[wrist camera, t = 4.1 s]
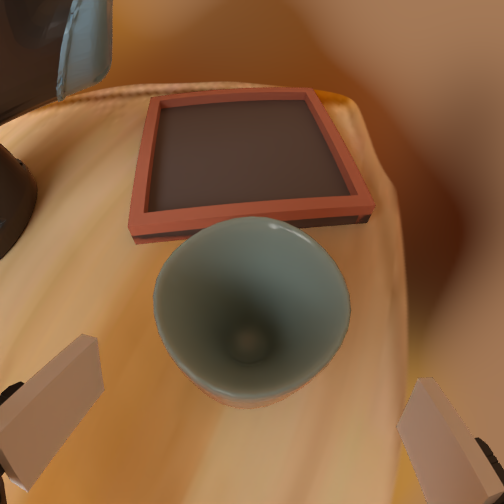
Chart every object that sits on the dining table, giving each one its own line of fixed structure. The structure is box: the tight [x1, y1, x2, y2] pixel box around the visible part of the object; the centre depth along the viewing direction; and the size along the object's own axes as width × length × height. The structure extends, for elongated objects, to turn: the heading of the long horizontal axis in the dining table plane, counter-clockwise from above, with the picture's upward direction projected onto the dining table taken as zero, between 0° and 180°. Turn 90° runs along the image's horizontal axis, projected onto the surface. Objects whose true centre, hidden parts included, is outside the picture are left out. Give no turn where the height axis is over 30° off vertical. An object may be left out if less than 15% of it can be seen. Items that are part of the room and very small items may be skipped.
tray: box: [128, 87, 376, 244], centre depth 30 cm, size 20×20×2 cm
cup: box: [153, 216, 351, 409], centre depth 16 cm, size 8×8×10 cm
